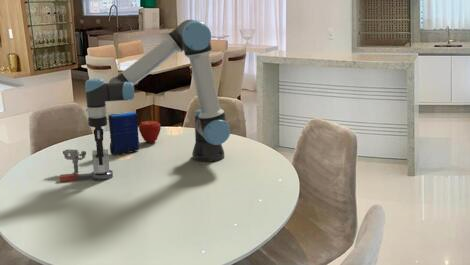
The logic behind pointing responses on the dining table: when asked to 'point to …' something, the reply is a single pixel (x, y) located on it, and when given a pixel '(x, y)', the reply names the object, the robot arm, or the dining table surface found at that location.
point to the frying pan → (86, 176)
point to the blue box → (123, 133)
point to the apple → (149, 130)
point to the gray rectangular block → (95, 163)
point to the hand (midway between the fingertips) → (101, 169)
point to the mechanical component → (74, 157)
